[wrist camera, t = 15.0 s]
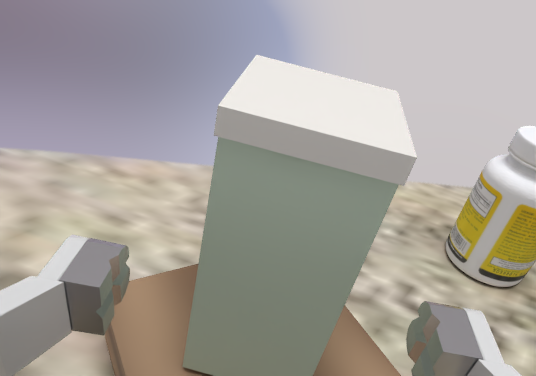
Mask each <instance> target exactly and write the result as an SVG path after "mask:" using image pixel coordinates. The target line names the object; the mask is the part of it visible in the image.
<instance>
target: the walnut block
mask: <svg viewBox="0 0 536 376" xmlns="http://www.w3.org/2000/svg"><path fill="white" fill-rule="evenodd" d="M197 270H198V264H196V265H192V266H188V267H184V268H180V269H176V270H172V271H168V272H164V273H160V274H156V275H152V276H148V277H144V278H140V279H136V280H132V281H129V283H128V286H127V290H126V293H125V295H124V297H123V299H122V301H121V302H120V303H118V304H117V305H115V306H114V314H115V315H114V317H113V319H112V321H111V323H110V325H109V327H108V329H107V331H106V333H105V338H106V343H107V347H108V350H109V354H110V358H111V362H112V366H113V370H114V374H115V376H213V375H210V374H206V373H202V372H199V371H195V370H192V369H188V368H185V367H183V360H184V354H185V347H186V341H187V335H188V328H189V322H190V315H191V309H192V303H193V296H194V290H195V283H196V277H197ZM313 376H401V375H400V374H399V373H398V371H397V370H396V369H395V368H394V366H393V365H392V364H391V363H390V361H389V360H388V359H387V358H386V356H385V355H384V354H383V353H382V351H381V350H380V349H379V348H378V346H377V345H376V344H375V343H374V341H373V340H372V339H371V338H370V336H369V335H368V334H367V333H366V331H365V330H364V329H363V328H362V326H361V325H360V324H359V323H358V321H357V320H356V319H355V318H354V316H353V315H352V314H351V313H350V311H349V310H348V309H347V308H346V306H345V305H344V307H343V309H342V312H341V314H340V316H339V318H338V321H337V323H336V325H335V327H334V329H333V332H332V334H331V336H330V338H329V341H328V343H327V345H326V347H325V349H324V352H323V354H322V356H321V358H320V361H319V363H318V365H317V367H316V369H315V372H314V374H313Z"/></svg>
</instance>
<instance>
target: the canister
mask: <svg viewBox="0 0 536 376" xmlns="http://www.w3.org/2000/svg"><path fill="white" fill-rule="evenodd" d="M214 136H218V142H217V149H216V156H215V162H214V168H213V174H212V181H211V187H210V194H209V200H208V206H207V213H206V219H205V226H204V232H203V238H202V245H201V251H200V258H199V264H198V270H197V277H196V283H195V290H194V296H193V303H192V309H191V315H190V322H189V328H188V335H187V341H186V347H185V354H184V360H183V367H185V368H188V369H192V370H195V371H199V372H202V373H206V374H210V375H213V376H313V374H314V372H315V369H316V367H317V365H318V363H319V361H320V358H321V356H322V354H323V352H324V349H325V347H326V345H327V343H328V341H329V338H330V336H331V334H332V332H333V329H334V327H335V325H336V323H337V321H338V318H339V316H340V314H341V312H342V309H343V307H344V305H345V303H346V301H347V298H348V296H349V294H350V292H351V289H352V287H353V285H354V283H355V281H356V278H357V276H358V274H359V272H360V269H361V267H362V265H363V263H364V261H365V258H366V256H367V254H368V252H369V249H370V247H371V245H372V243H373V241H374V238H375V236H376V234H377V232H378V229H379V227H380V225H381V223H382V221H383V218H384V216H385V214H386V212H387V209H388V207H389V205H390V203H391V201H392V198H393V196H394V194H395V192H396V189H397V187H398V185H402V186H404V185H405V183H406V180H407V178H408V176H409V174H410V172H411V169H412V167H413V165H414V163H415V161H416V159H417V156H416V153H415V149H414V146H413V143H412V139H411V136H410V133H409V129H408V126H407V122H406V119H405V115H404V112H403V109H402V105H401V102H400V98H399V95H398V92H397V91H394V90H390V89H387V88H382V87H379V86H375V85H371V84H367V83H363V82H359V81H356V80H352V79H348V78H343V77H340V76H336V75H332V74H328V73H325V72H321V71H317V70H313V69H309V68H305V67H301V66H297V65H294V64H290V63H286V62H282V61H278V60H274V59H270V58H266V57H263V56H259V55H256V56H255V58H254V59H253V60H252V62H251V63H250V64H249V65H248V67H247V68H246V69H245V71H244V72H243V74H242V75H241V76H240V77H239V79H238V80H237V81H236V83H235V84H234V85H233V87H232V88H231V89H230V91H229V92H228V93H227V95H226V96H225V97H224V98H223V100H222V101H221V103H220V104H219V105H218V110H217V117H216V124H215V131H214Z"/></svg>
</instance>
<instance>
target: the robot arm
mask: <svg viewBox="0 0 536 376" xmlns="http://www.w3.org/2000/svg"><path fill="white" fill-rule="evenodd" d="M128 257H129V250H128V247H127V246H125V245H121V244H116V243H111V242H107V241H102V240H97V239H92V238H86V237H81V236H77V235H71V236H69V237H68V238H67V239H66V240H65V241H64V242H63V244H62V245H61V246H60V248H59V249H58V250H57V251H56V253H55V254H54V255H53V257H52V258H51V259H50V260H49V262H48V263H47V264H46V266H45V267H44V268H43V269H42V271H41V272H40V273H39V275H38V276H37V277H34V276H30V277H28V278H26V279H24V280H22V281H20V282H17V283H15V284H13V285H11V286H9V287H7V288H5V289H3V290H1V291H0V376H13V375H15V374H16V373H17V372H19V371H20V370H21V369H23V368H24V367H25V366H27V365H28V364H29V363H31V362H32V361H33V360H35V359H36V358H38V357H39V356H40V355H42V354H43V353H44V352H46V351H47V350H48V349H50V348H51V347H52V346H54V345H55V344H56V343H58V342H59V341H61V340H62V339H63V338H65V337H66V336H67V335H69V334H70V333H71V332H72V331H78V332H85V333H91V334H98V335H105V333H106V331H107V329H108V327H109V325H110V323H111V321H112V319H113V317H114V315H115V314H114V306H115V305H117V304H118V303H120V302H121V301H122V299H123V297H124V295H125V293H126V290H127V286H128V283H129V276H130V269H129V267H128V266H127V265H126V261H127V259H128ZM418 313H419V318H417V319H415V320H413V321H412V322H411V324H410V326H409V328H408V333H407V339H406V340H407V351H408V355H409V357H410V358H411V359H412V360H413V361H414V362H415V365H414V367H413V368H412V370H411V371H412V375H413V376H521V375H520V374H519V373H518V372H517V371H516V370H515V369H514V368H513V367H512V366H511V365H507V364H505V362H504V360H503V358H502V355H501V353H500V351H499V348H498V346H497V344H496V341H495V339H494V337H493V334H492V332H491V330H490V327H489V325H488V323H487V320H486V318H485V315H484V314H483V313H482V312H481V311H478V310H473V309H467V308H460V307H455V306H450V305H444V304H438V303H433V302H427V301H425V302H423V303H422V304H421V305H420V307H419V309H418ZM71 330H72V331H71Z"/></svg>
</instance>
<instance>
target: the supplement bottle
mask: <svg viewBox="0 0 536 376" xmlns="http://www.w3.org/2000/svg"><path fill="white" fill-rule="evenodd" d="M508 151H509V154H505V155H499V156H496V157H494V158H492V159H491V160H490V161H489V162H488V163H487V164H486V165H485V167H484V169H483V171H482V172H481V174H480V177H479V178H478V180H477V182H476V184H475V186H474V188H473V190H472V192H471V194H470V196H469V197H468V199H467V201H466V203H465V205H464V207H463V209H462V211H461V213H460V215H459V217H458V219H457V220H456V222H455V224H454V226H453V228H452V230H451V232H450V234H449V236H448V239H447V241H446V251H447V254H448V256H449V258H450V259H451V260H452V262H453V263H454V264H455V265H456V266H457V267H458V268H459V269H460V270H462V271H463V272H465V273H466V274H467V275H469V276H471V277H473V278H474V279H476V280H479V281H481V282H483V283H486V284H489V285H493V286H498V287H509V286H513V285H516V284H518V283H519V282H520V281H521V280H522V279H523V278H524V276H525V275H526V274H527V272H528V271H529V269H530V268H531V267H532V265H533V264H534V262H535V261H536V127H535V126H523V127H520V128H519V129H518V131H517V132H516V134H515V136H514V137H513V139H512V141H511V143H510V146H509V147H508Z"/></svg>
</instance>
